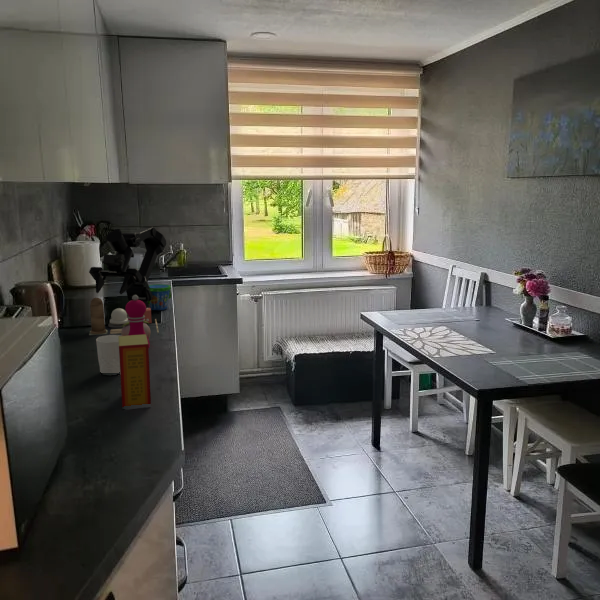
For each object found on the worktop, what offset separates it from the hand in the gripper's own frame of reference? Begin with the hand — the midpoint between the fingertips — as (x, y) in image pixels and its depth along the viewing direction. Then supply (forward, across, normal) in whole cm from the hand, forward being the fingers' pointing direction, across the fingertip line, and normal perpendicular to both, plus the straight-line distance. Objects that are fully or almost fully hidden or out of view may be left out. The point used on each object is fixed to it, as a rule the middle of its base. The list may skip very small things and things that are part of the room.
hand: (108, 293), depth 197 cm
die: (+2, +9, +16) cm, 18 cm away
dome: (+6, +2, +11) cm, 12 cm away
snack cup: (-17, +2, +36) cm, 40 cm away
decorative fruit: (+24, +20, -4) cm, 32 cm away
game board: (+9, +4, +10) cm, 14 cm away
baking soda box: (+54, +41, -34) cm, 76 cm away
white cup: (+41, +25, -21) cm, 52 cm away
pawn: (+15, 0, +3) cm, 15 cm away
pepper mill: (+32, +26, -12) cm, 43 cm away
